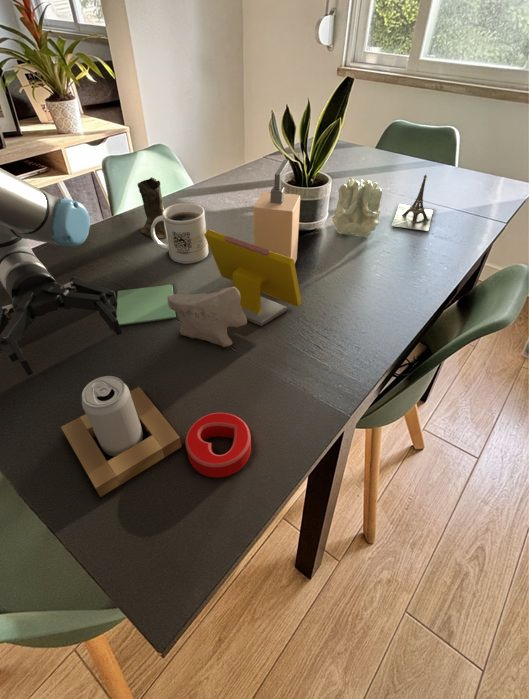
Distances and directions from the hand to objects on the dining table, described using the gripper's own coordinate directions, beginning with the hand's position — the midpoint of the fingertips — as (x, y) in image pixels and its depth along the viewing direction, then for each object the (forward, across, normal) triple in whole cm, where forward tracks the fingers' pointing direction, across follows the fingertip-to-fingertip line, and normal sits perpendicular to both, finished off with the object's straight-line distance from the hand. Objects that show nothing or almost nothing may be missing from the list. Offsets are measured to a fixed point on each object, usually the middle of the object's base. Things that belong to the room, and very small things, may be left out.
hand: (74, 347), depth 63 cm
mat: (-20, -19, -13) cm, 31 cm away
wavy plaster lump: (-15, -80, -14) cm, 83 cm away
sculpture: (-1, -23, -13) cm, 27 cm away
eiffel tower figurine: (-8, -97, -14) cm, 99 cm away
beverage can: (+10, 0, -13) cm, 16 cm away
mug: (-33, -37, -14) cm, 52 cm away
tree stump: (-48, -38, -14) cm, 63 cm away
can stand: (+10, 0, -13) cm, 16 cm away
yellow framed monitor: (-4, -36, -13) cm, 39 cm away
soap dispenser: (-15, -53, -14) cm, 57 cm away
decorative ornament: (+20, -11, -13) cm, 26 cm away
